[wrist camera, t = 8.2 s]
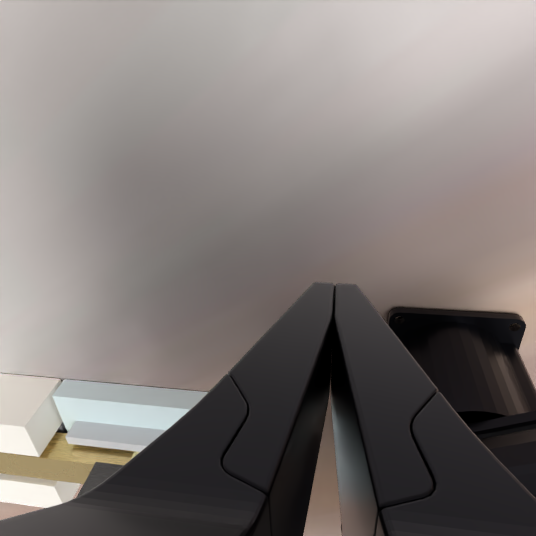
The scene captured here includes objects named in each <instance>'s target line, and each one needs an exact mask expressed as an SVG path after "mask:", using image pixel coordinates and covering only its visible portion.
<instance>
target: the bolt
mask: <svg viewBox="0 0 536 536" xmlns="http://www.w3.org/2000/svg"><path fill="white" fill-rule="evenodd" d="M66 435H67V433H60V432H56V433H55V434H54V436H53V437H52V439H51V440H50V442H49V443H48V445H47V446H46V448H45V449H44V451H43V452H42V454H41V455H40V457H36V456H27V455H19V454H11V453H3V452H0V473H1V474H9V475H17V476H25V477H32V478H40V479H48V480H55V481H63V482H71V483H79V484H84V485H83V487H82V488H81V490H80V492H79V494H78V496H77V497H79V496H81V495H83V494H85V493H87V492H88V491H90V490H92V489H93V488H95V487H96V486H98V485H99V484H101V483H102V482H104V481H105V480H106V479H108V478H109V477H110V476H111V475H113V474H114V473H115V472H116V471H118V470H119V469H120V468H121V467H122V466H124V465H125V464H126V463H127V462H128V461H130V460H131V459H132V458H133V457H135V456H136V455H137V454H138V453H139V452H137V451H128V450H119V449H110V448H102V447H93V446H84V445H76V444H68V442H67V440H66V437H65V436H66Z"/></svg>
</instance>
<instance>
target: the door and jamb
mask: <svg viewBox="0 0 536 536" xmlns="http://www.w3.org/2000/svg"><path fill="white" fill-rule="evenodd" d="M207 393H208V392H201V391H190V390H179V389H168V388H157V387H146V386H135V385H124V384H113V383H102V382H91V381H80V380H69V379H64V380H63V382H62V381H61V379H58V378H47V377H36V376H25V375H14V374H3V373H0V452H3V453H11V454H19V455H27V456H36V457H40V455H41V454H42V452H43V451H44V449H45V448H46V446H47V445H48V443H49V442H50V440H51V439H52V437H53V436H54V434H55V433H56V432H60V433H67V435H66V436H65V437H66V440H67V442H68V444H76V445H84V446H93V447H102V448H110V449H119V450H128V451H137V452H141V451H142V450H143V449H144V448H145V447H147V446H148V445H149V444H150V443H151V442H153V441H154V440H155V439H156V438H158V437H159V436H160V435H161V434H162V433H164V432H165V431H166V430H167V429H168V428H170V427H171V426H172V425H173V424H174V423H176V422H177V421H178V420H179V419H180V418H181V417H182V416H184V415H185V414H186V413H187V412H188V411H189V410H190V409H192V408H193V407H194V406H195V405H196V404H197V403H198V402H199V401H200V400H201V399H202V398H203V397H204V396H205V395H206V394H207ZM79 486H80V484H79V483H71V482H63V481H55V480H48V479H40V478H32V477H25V476H17V475H9V474H1V473H0V501H1V502H8V503H15V504H22V505H29V506H36V507H43V508H48V507H51V506H55V505H59V504H62V503H65V502H68V501H70V500H72V499H73V497H74V495H75V494H76V492H77V490H78V488H79Z"/></svg>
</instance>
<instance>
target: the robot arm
mask: <svg viewBox="0 0 536 536" xmlns="http://www.w3.org/2000/svg"><path fill="white" fill-rule="evenodd" d="M334 296H335V298H334ZM398 316H401V317H403V318H402V319H395V318H396V317H398ZM513 323H517V324H516V325H515V326H510V325H511V324H513ZM525 328H526V324H525V322H524V320H523V318H522V317H521V316H519V315H516V314H502V313H484V312H467V311H449V310H431V309H414V308H395V309H392V310H391V311H390V313H389V316H388V324H387V323H386V322H385V320H384V319H383V318H382V317H381V315H380V314H379V313H378V311H377V310H376V309H375V308H374V306H373V305H372V304H371V302H370V301H369V300H368V299H367V297H366V296H365V295H364V293H363V292H362V291H361V290H360V288H359V287H358V286H357V285H356V284H342V283H339V284H336V286H335V285H334V284H333V283H322V282H315V283H313V284H312V285H311V286H310V287H309V288H308V289H307V290H306V291H305V292H304V293H303V294H302V296H301V297H300V298H299V299H298V300H297V301H296V302H295V303H294V304H293V305H292V306H291V307H290V308H289V309H288V310H287V311H286V312H285V313H284V314H283V315H282V316H281V318H280V319H279V320H278V321H277V322H276V323H275V324H274V325H273V326H272V327H271V328H270V329H269V330H268V331H267V332H266V333H265V334H264V335H263V336H262V337H261V339H260V340H259V341H258V342H257V343H256V344H255V345H254V346H253V347H252V348H251V349H250V350H249V351H248V352H247V353H246V354H245V355H244V356H243V357H242V358H241V359H240V361H239V362H238V363H237V364H236V365H235V366H234V367H233V368H232V369H231V370H230V371H229V372H228V374H226V375H225V376H224V377H223V378H222V379H221V380H220V381H219V382H218V383H217V384H216V385H215V386H214V387H213V388H212V389H211V390H210V391H209V392H208V393H207V394H206V395H205V396H204V397H203V398H202V399H201V400H200V401H199V402H198V403H197V404H196V405H195V406H194V407H193V408H192V409H190V410H189V411H188V412H187V413H186V414H185V415H184V416H182V417H181V418H180V419H179V420H178V421H177V422H176V423H174V424H173V425H172V426H171V427H170V428H168V429H167V430H166V431H165V432H164V433H162V434H161V435H160V436H159V437H158V438H156V439H155V440H154V441H153V442H151V443H150V444H149V445H148V446H147V447H145V448H144V449H143V450H142V451H141V452H139V453H138V454H137V455H136V456H135V457H133V458H132V459H131V460H130V461H128V462H127V463H126V464H125V465H124V466H122V467H121V468H120V469H119V470H118V471H116V472H115V473H114V474H113V475H111V476H110V477H109V478H108V479H106V480H105V481H104V482H102V483H101V484H99V485H98V486H96V487H95V488H93V489H92V490H90V491H88V492H87V493H85V494H83V495H81V496H79V497H77V498H75V499H72V500H70V501H68V502H65V503H62V504H59V505H55V506H51V507H48V508H44V509H40V510H37V511H33V512H29V513H26V514H22V515H18V516H15V517H11V518H7V519H3V520H0V536H303V533H304V527H305V522H306V517H307V511H308V506H309V501H310V495H311V490H312V485H313V479H314V474H315V469H316V464H317V458H318V453H319V448H320V442H321V437H322V432H323V426H324V421H325V416H326V410H327V405H328V399H329V392H330V380H331V408H332V420H333V431H334V443H335V454H336V466H337V478H338V489H339V501H340V512H341V531H342V536H536V389H535V387H534V384H533V382H532V380H531V378H530V376H529V374H528V371H527V369H526V367H525V365H524V363H523V361H522V358H521V356H520V354H519V352H518V350H519V347H520V344H521V341H522V338H523V335H524V331H525ZM331 360H332V363H331Z"/></svg>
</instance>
